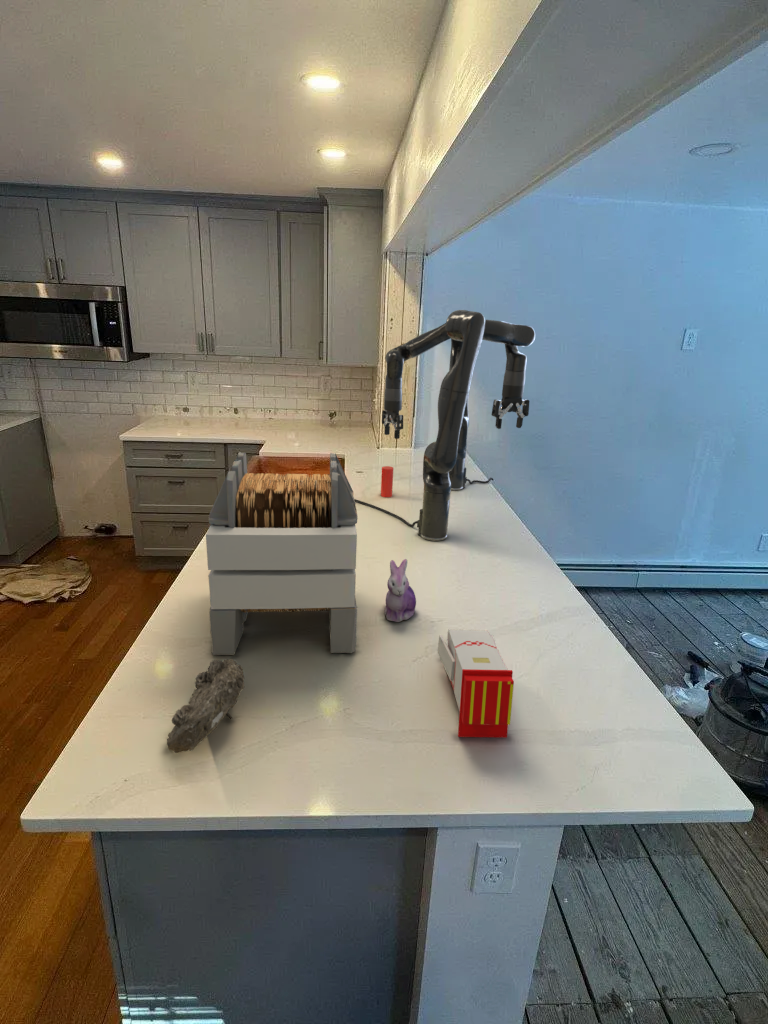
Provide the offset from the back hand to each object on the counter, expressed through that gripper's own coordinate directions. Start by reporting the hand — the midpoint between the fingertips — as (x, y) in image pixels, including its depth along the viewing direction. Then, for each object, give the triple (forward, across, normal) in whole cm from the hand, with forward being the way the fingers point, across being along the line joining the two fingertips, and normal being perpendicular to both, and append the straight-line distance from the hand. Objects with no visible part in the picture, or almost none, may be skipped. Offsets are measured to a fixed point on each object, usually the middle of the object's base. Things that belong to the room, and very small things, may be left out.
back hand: (391, 436), depth 245 cm
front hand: (-12, +50, +20) cm, 56 cm away
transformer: (+22, +87, -80) cm, 121 cm away
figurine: (+23, +98, -54) cm, 114 cm away
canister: (+23, +10, -8) cm, 26 cm away
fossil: (+22, +116, -106) cm, 159 cm away
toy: (+23, +132, -57) cm, 145 cm away
